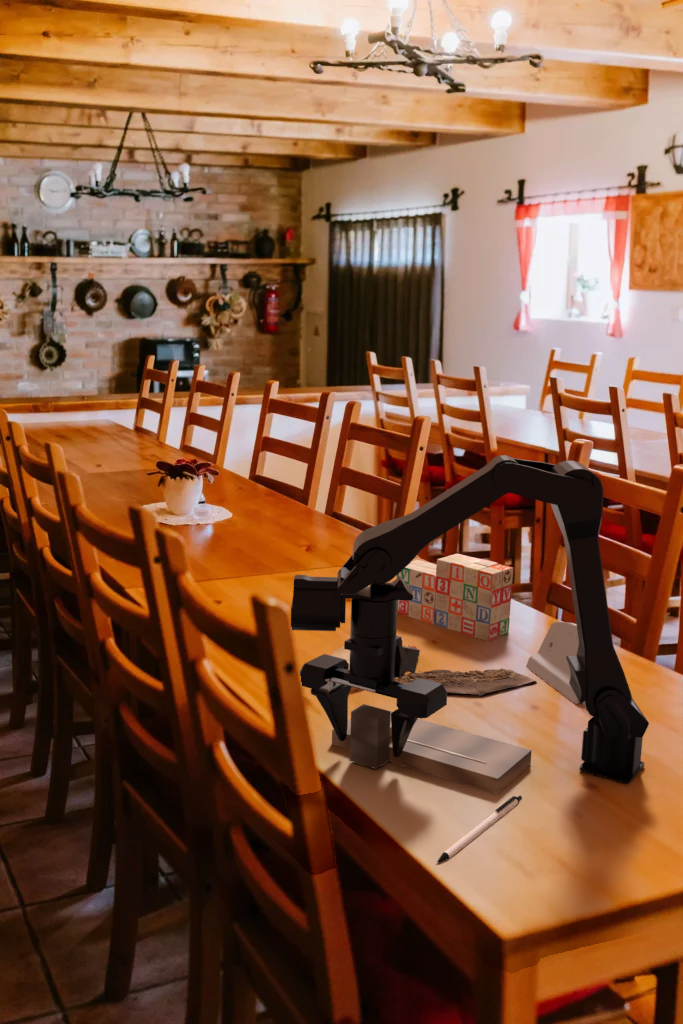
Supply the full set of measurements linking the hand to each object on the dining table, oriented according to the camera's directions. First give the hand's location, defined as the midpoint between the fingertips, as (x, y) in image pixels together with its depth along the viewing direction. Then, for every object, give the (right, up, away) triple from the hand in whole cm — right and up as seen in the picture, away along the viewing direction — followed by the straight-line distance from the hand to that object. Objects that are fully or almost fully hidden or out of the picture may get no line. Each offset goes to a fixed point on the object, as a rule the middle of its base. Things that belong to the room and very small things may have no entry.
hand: (369, 748), depth 138 cm
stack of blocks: (+16, +10, +57) cm, 60 cm away
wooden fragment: (+14, +3, +28) cm, 31 cm away
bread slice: (+1, +5, +34) cm, 34 cm away
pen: (+12, -6, -15) cm, 21 cm away
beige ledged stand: (+32, +3, +30) cm, 44 cm away
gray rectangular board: (+8, -2, +3) cm, 9 cm away
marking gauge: (+1, -1, +2) cm, 3 cm away
